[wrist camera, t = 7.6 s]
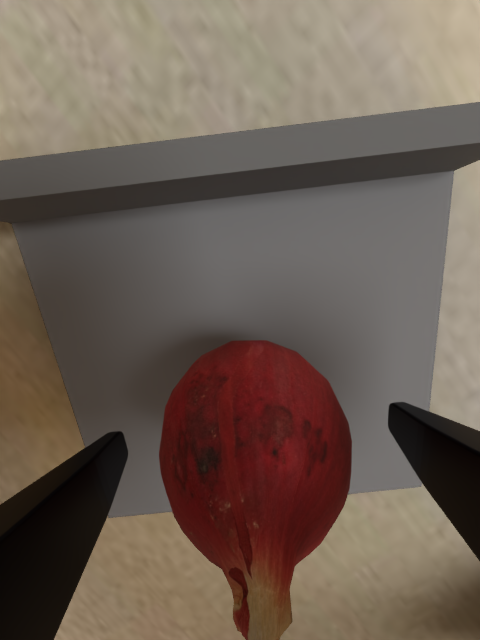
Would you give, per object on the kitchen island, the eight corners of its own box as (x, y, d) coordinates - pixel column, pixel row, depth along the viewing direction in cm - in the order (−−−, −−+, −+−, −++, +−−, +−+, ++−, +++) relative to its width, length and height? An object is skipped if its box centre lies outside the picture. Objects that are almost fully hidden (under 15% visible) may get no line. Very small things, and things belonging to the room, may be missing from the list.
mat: (447, 146, 9) (543, 94, 6) (416, 480, 13) (465, 540, 11) (11, 198, 10) (-87, 171, 7) (112, 510, 14) (78, 577, 11)
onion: (169, 352, 11) (-17, 565, 3) (278, 295, 10) (372, 397, 2) (229, 443, 12) (195, 763, 4) (331, 399, 11) (513, 696, 4)
